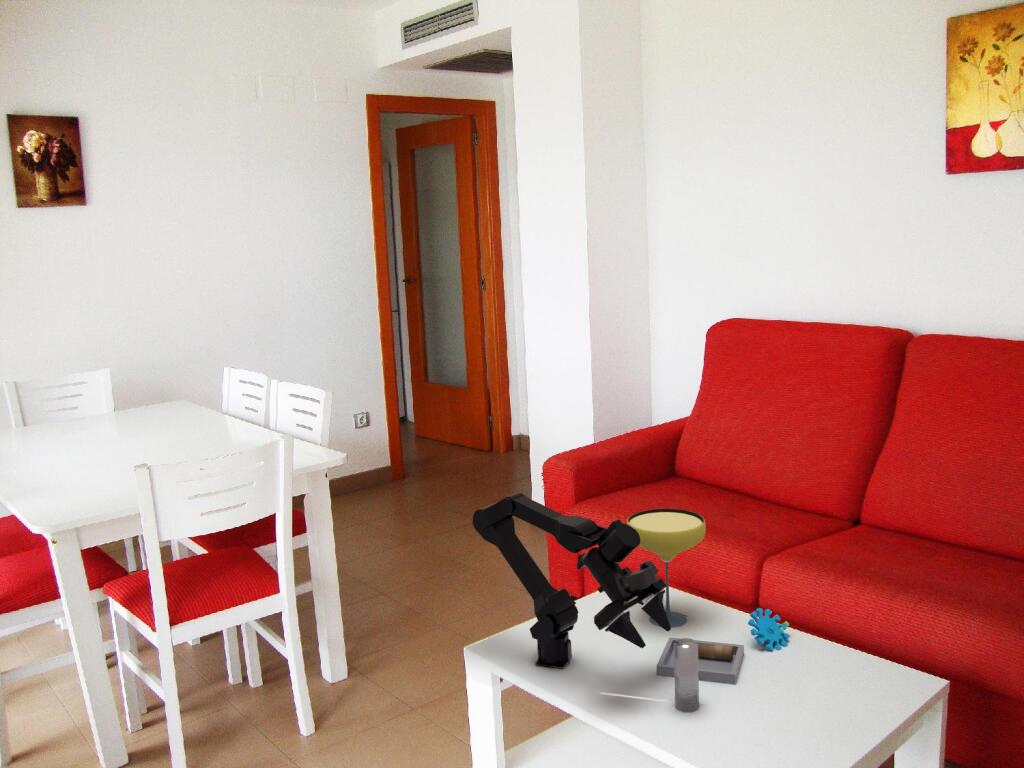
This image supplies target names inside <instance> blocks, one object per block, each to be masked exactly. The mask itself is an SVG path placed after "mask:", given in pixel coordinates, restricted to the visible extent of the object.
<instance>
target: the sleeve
mask: <svg viewBox="0 0 1024 768" xmlns="http://www.w3.org/2000/svg"><path fill="white" fill-rule="evenodd" d="M695 640H696V639H694V638H693V639H692V638H688V637H686V638H685V637H682V638H680V639H677V640H675V641H674V677H673V678H674V706H675V709H676V710H678V711H680V712H684V713H694V712H696V711H698V710H699V709H700V691H699V690H700V684H699V682H700V680H699V673H698V642H697V641H695ZM693 711H694V712H693Z"/></svg>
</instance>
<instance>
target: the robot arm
mask: <svg viewBox="0 0 1024 768" xmlns="http://www.w3.org/2000/svg"><path fill="white" fill-rule="evenodd" d="M513 517H516V518H517V519H520V520H521V521H524V522H526V523H528V524H529V525H532V526H534V527H536V528H538V529H540V530H542V531H544V532H546V533H548V534H550V535H551V536H553V537H554V540H555V541H556V542H557V544H558V545H560V546H561V547H562V548H564V550H567V551H568V552H569V553H572V554H578V553H581V552H582V551H585V550H588V549H589V550H588V551H587V552H586V553H581V554H579V555H577V563H576V569H577V570H581V569H583V568H585V567H586V568H587V570H588V572H589V573H590V574H591V576H592V577H593V578H594V579H595V581H596V582H597V584H598V585H599V587H598V588H597V591H598V592H599V593H600V594H601V593H605V595H606V596H607V598H609V600H610V601H611V602H610V603H608V604H606V605H605V606H604V607H603V608H601V609H600V611H598V612H597V613H596V614H595V615H594V616H593V623H594V625H595V626H596V628H597V629H598V630H599V631H602V630H603V629H604V631H605V632H606V633H607V632H610V633H612V634H614V635H615V636H618V637H621V638H622V639H624V640H626V641H628V642H629V643H631V644H633V645H635V646H637V647H638V648H641V649H643V648H645V647H646V642H645V641H644V639H643V637H642V636H641V634H640V633H639V632H638V630H637V628H636V627H635V625H634V624H633V623H632V621H631V612H630V610H629V609H630V608H632V607H635V606H636V605H637V604H639V605H641V606H642V607H641V610H642V611H643V612H644V613H646V615H647V616H649V618H650V617H651V618H652V619H653V620H654V621H655V622H656V623H657V624H659V625H660V626H661V627H660V628H662V629H663V630H665V631H666V632H669V631H671V630H672V628H671V626H670V623H669V620H668V617H667V615H666V612H665V610H666V608H665V606H664V595H665V594H666V587H667V585H666V582H665V581H664V580H663V579H662V578H660V577H657V575H658V574H659V569H658V568H657V566H656V565H655V564H654V563H653V562H652V560H647V561H644V562H642V563H641V564H640V565H639V567H640V569H637V570H635V571H632V570H631V569H630V568H629V567H627V566H626V567H624V568H623V567H622V566H621V565H620V563H621V562H623V561H624V560H626V558H627V557H628V556H630V555H631V553H632V552H633V551H635V550H636V549H637V548H638V547H639V544H640V536H639V534H638V532H637V531H636V529H633V528H632V527H631V526H629V525H627V523H623V522H622V520H620V519H619V518H617V519H615V520H613V521H612V522H610V524H609V525H608V527H604V526H601V525H599V524H597V523H596V521H594V520H592V519H590V518H586V517H583V516H578V515H566V514H563V513H561V512H558V510H557V511H556V510H555V509H552V508H550V507H548V506H545V505H544V504H542V503H539V502H538V501H535V500H533V499H532V498H529V497H527V496H526V495H525V494H524V493H522V492H514V493H513V494H509V495H507V496H504V497H503V498H502V499H501V500H499V501H498V502H494V503H492V504H489V505H486V506H484V507H481V508H478V509H476V510H475V511H474V513H473V514H472V527H473V528H474V530H475V531H476V533H478V534H479V536H480V537H481V538H482V539H483V540H484V541H486V542H487V543H490V544H491V545H493V546H495V547H496V549H498V550H499V551H500V553H501V554H502V557H503V558H504V560H506V562H507V564H508V565H509V566H510V568H511V569H512V571H513V572H514V574H515V575H516V577H517V578H518V579H519V582H520V583H521V584H522V586H523V587H524V588H525V590H526V591H527V593H528V595H529V596H530V598H532V600H533V610H534V616H535V617H536V620H537V621H536V622H535V623H534V624H533V625H531V627H530V628H529V632H530V634H531V638H532V639H534V640H536V642H537V643H536V644H537V645H536V647H537V659H536V661H535V666H540V667H548V668H549V667H550V668H556V669H558V668H559V669H564V668H565V667H566V665H567V664H568V663H570V662H569V661H570V660H571V659H572V658H573V655H572V653H573V652H572V650H573V649H572V640H571V639H570V636H569V632H570V631H573V630H574V628H575V627H574V626H575V625H576V623H577V622H578V619H579V610H578V607H577V605H576V604H577V602H576V601H575V600H573V598H572V597H571V596H570V593H569V592H568V590H567V589H565V588H562V589H560V590H558V589H556V588H554V587H553V586H552V584H551V583H550V582H549V581H548V579H547V578H546V576H545V574H544V573H543V571H542V570H541V569H540V567H539V566H538V565H537V562H536V561H535V560H534V558H533V557H532V556H531V555H530V553H529V552H528V550H527V549H526V547H525V545H524V544H523V543H522V541H521V540H520V538H519V537H518V536H517V534H516V525H515V519H514V518H513ZM596 546H598V547H596Z"/></svg>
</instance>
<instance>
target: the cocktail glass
mask: <svg viewBox="0 0 1024 768" xmlns="http://www.w3.org/2000/svg"><path fill="white" fill-rule="evenodd" d="M626 524H627V525H629V526H631V527H632V528H633V529H636V531H637V532H638V534H639V536H640V544H639V546H638V547H640V548H641V549H643V550H645V551H648V552H651V553H653V554H655V555H657V556H658V558H660V560H661V561H662V562H664V564H665V584H666V585H667V587H665V612H666V615H667V617H668V620H669V623H670V626H671V629H672V628H678V627H679V628H680V627H682V626H684V625H686V624H687V623H688V617H689V615H687V614H684V613H681V612H676V611H671V605H670V588H669V587H670V585H669V563H670V562H672V560H673V559H674V558H675V556H676V555H679V554H680V553H683V552H685V551H687V550H690V549H692V548H694V547H696V546H698V544H699V543H701V542H702V541H703V540H704V538H705V536H706V531H707V526H706V525H707V524H706V520H705V519H704V516H702V515H701V514H699V513H696V512H695V511H690V510H687V509H680V508H679V509H678V508H653V509H652V508H651V509H646V510H641V511H638V512H635V513H633V514H631V515H630V516H629V517H627V519H626ZM648 621H649V623H651V625H653V626H656V627H660V628H662V627H661V626H660V625H659V624H657V623H656V622H655V621H654V620H653V619H652V618H651V617H650V616H649V618H648Z"/></svg>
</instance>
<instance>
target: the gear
mask: <svg viewBox="0 0 1024 768" xmlns="http://www.w3.org/2000/svg"><path fill="white" fill-rule="evenodd" d="M763 613H764V615H763ZM772 613H773V612H772V610H770V609H769V608H767V609H765V610H763V608H761V607H757V608H756V610H755V611H752V612H751V613H750V614H749V617H751V618H750V619H749V620H748V621H747V625H749V626H750V627H752V628H751V629H750V634H751V636H753V637H754V636H755V637H754V638H753V639H754V640H756V642H757V643H758V645H760V646H762V644H764V643H765V642H768V644H766V645H765V649H766V650H767V651H769V652H771V651H772V650H773V649H774V650H776V651H782V647H785V648H786V647H787V646H788V645H789V644H788V642H787V641H788V640H789V638H790V634H788V633H786V632H785V630H787V628H788V627H789V626H790V623H789V622H788V621H784V622H783V623H781V624H780V623H777V622H779V621H780V620H781V617H780V616H779V615H778V614H775V615H774V616H773V617H772V618H770V616H771V614H772ZM773 645H775V646H773Z"/></svg>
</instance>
